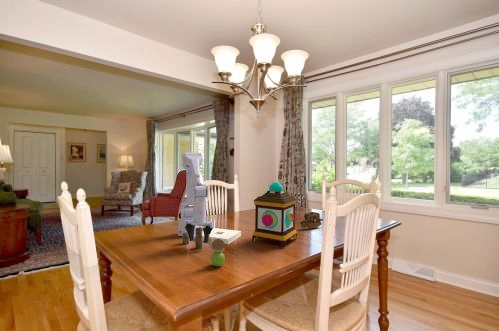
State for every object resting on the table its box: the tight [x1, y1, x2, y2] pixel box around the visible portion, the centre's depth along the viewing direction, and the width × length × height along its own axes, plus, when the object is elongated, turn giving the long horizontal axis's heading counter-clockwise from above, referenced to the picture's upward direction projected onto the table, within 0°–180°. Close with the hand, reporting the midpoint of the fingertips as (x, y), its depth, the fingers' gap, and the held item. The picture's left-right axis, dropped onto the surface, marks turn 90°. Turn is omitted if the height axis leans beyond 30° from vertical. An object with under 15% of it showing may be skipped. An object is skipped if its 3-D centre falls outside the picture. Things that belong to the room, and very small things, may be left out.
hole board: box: [202, 227, 242, 245], centre depth 136 cm, size 18×16×2 cm
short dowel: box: [182, 232, 190, 246], centre depth 125 cm, size 3×3×5 cm
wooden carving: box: [299, 211, 324, 229], centre depth 158 cm, size 16×5×10 cm, turn 120°
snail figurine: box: [208, 234, 226, 267], centre depth 99 cm, size 5×6×12 cm
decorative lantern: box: [251, 180, 298, 249], centre depth 132 cm, size 20×20×30 cm
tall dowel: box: [194, 226, 203, 250], centre depth 119 cm, size 3×3×9 cm
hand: (198, 241), depth 119 cm, fingers open, 7 cm apart
